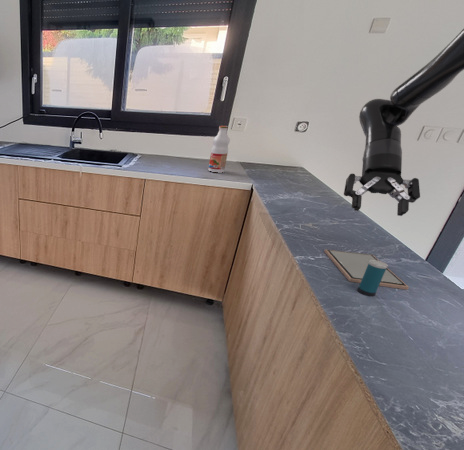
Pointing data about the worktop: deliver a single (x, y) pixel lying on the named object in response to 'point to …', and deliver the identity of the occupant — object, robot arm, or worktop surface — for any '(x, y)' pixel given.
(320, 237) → the worktop surface
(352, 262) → the tablet
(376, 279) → the tumbler
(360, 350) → the worktop surface
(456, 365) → the worktop surface
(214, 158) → the fruit juice
